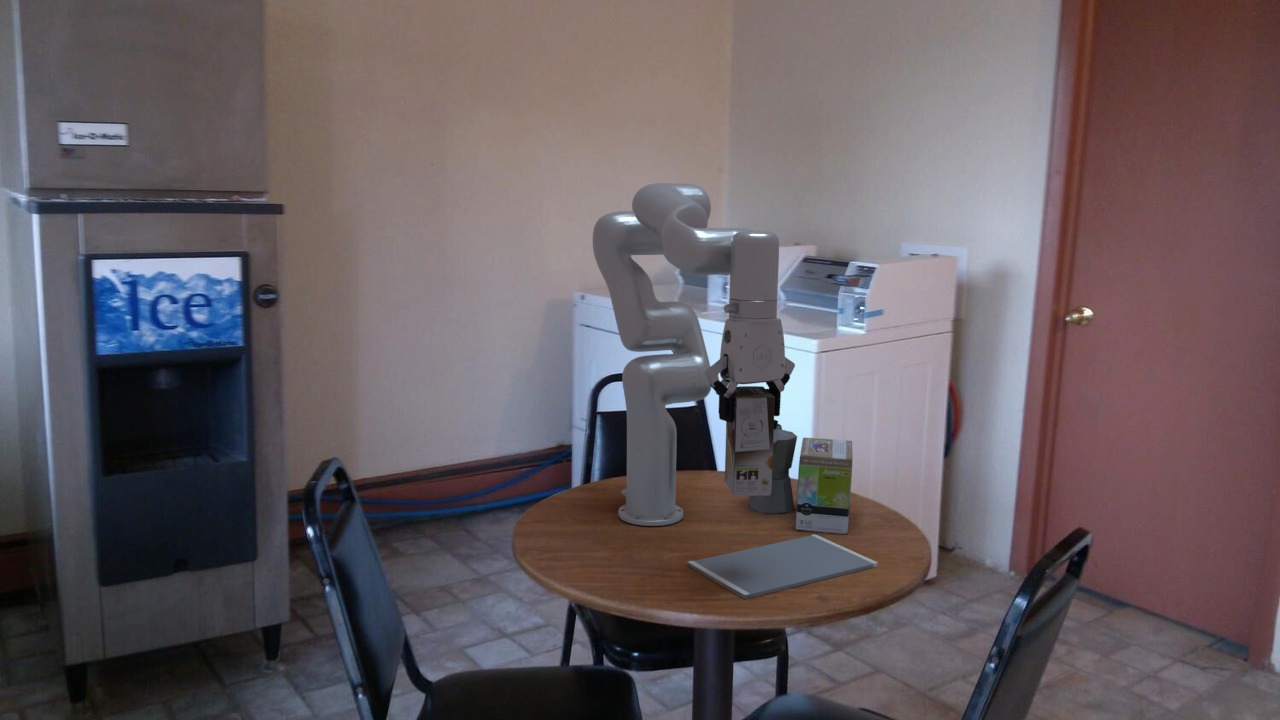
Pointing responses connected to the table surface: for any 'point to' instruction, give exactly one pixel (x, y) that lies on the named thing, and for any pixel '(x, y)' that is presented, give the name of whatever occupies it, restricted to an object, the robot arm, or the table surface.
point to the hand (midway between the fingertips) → (749, 417)
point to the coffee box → (750, 442)
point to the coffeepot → (778, 475)
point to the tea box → (824, 485)
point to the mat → (781, 565)
